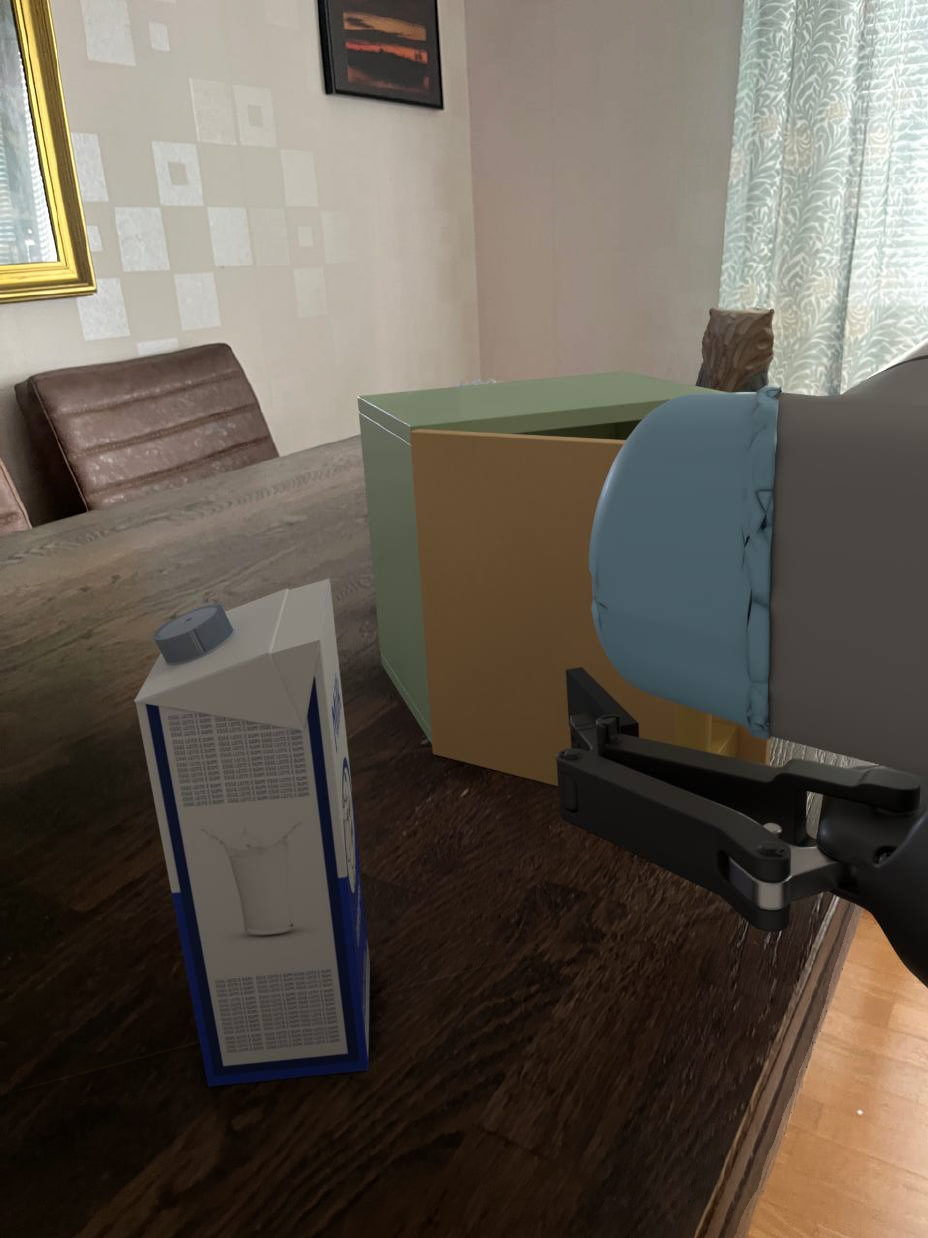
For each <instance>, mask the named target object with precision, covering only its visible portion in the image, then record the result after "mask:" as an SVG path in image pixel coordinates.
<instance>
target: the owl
mask: <svg viewBox="0 0 928 1238" xmlns="http://www.w3.org/2000/svg"><path fill="white" fill-rule="evenodd" d="M708 310H709V311H708V315H709V317H710V318H709V320H708V321H707V322H708V323H707V325H706V329H705V330H704V332H703V336H702V340H701V346H702V347H701V355H702V356H701V357H702V363H701V365H700V369H699V371H698V374H697V379H696V381H695V385H694V386H698V387H703V388H708V389H713V390H718V391H723V392H727V393H738V392H756V391H758V390H760V389H761V388H763V387H765V386H769V382H770V380H769V375H768V374H769V370H770V367H771V364H772V361H773V360H774V359H775V358H774V356H775V350H774V344H775V334H774V333H775V332H774V331H773V330H774V329H773V320H774V315H775V312H776V311H775V309H774V308H770V309H768V310H767V309H764V308H763V309H762V308H760V307H756V306H755V307H748V308H744V309H735V308H730V309H729V308H728V309H727V308H724V307H711V308H710V309H708Z"/></svg>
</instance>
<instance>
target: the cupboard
mask: <svg viewBox="0 0 928 1238" xmlns="http://www.w3.org/2000/svg"><path fill="white" fill-rule="evenodd" d="M702 393H727V392H723V391H718V390H713V389H708V388H703V387H698V386H695V385H694V384H689V383H682V382H678V381H672V380H668V379H664V378H658V377H654V376H650V375H649V376H648V375H644V374H639V373H634V372H630V371H624V370H618V371H609V372H597V373H587V374H577V375H568V376H567V375H566V376H556V377H547V378H535V379H525V380H514V381H504V382H502V383H491V384H481V385H470V386H459V387H457V386H451V387H439V388H438V387H437V388H430V389H429V388H428V389H419V390H417V389H416V390H408V391H399V392H398V391H397V392H387V393H377V394H365V395H358V396H357V408H358V420H359V430H360V441H361V442H360V443H361V452H362V453H361V454H362V464H363V474H364V487H365V496H366V497H365V498H366V509H367V520H368V531H369V542H370V552H371V553H370V555H371V562H372V563H371V564H372V576H373V585H374V586H373V587H374V597H375V608H376V618H377V629H378V631H377V632H378V640H379V641H378V643H379V651H380V664H381V666H382V668H383V669H384V671H385V672H386V674H387V675H388V677H389V679H390V680H391V682H392V684H393V685H394V686H395V688H396V690H397V691H398V693H399V695H400V696H401V698H402V699H403V701H404V702H405V704H406V706H407V708H408V710H410V712H411V714H412V716H413V717H414V719H416V722H417V724H418V725H419V727H420V729H421V730H422V731H423V733H424V735H425V736H426V738H427V740H428V741H429V742H430V744H431V745H432V735H431V721H430V707H429V693H428V679H427V665H426V651H425V638H424V624H423V610H422V596H421V582H420V568H419V554H418V540H417V526H416V513H415V499H414V485H413V471H412V457H411V443H410V432H411V431H414V430H417V429H427V430H445V431H464V432H482V433H501V434H519V435H538V436H556V437H575V438H593V439H612V440H627V438H628V437H629V436H630V434H631V433H632V432H633V430H634V429H635V428H636V427H637V425H638V424H639V423H640V422H641V421H642V420H643V419H644V418H645V417H646V416H647V415H648V414H649V413H650V412H651V411H653V410H654V409H655V408H657V407H658V406H660V405H662V404H663V403H665V402H667V401H669V400H670V399H674V398H677V397H680V396H684V395H688V394H702Z"/></svg>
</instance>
